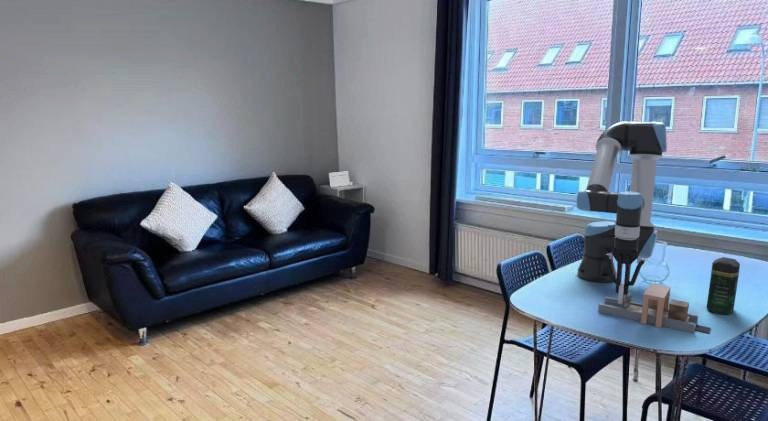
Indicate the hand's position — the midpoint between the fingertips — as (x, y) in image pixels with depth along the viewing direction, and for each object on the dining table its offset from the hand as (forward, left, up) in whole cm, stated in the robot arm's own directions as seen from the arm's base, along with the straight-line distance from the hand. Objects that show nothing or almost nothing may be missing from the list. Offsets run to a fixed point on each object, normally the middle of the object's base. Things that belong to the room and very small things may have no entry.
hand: (620, 302), depth 180 cm
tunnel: (+11, 0, -3) cm, 11 cm away
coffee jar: (+28, +22, -4) cm, 36 cm away
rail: (+8, 0, -3) cm, 9 cm away
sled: (+11, 0, -2) cm, 11 cm away
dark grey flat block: (+25, 0, -3) cm, 25 cm away
